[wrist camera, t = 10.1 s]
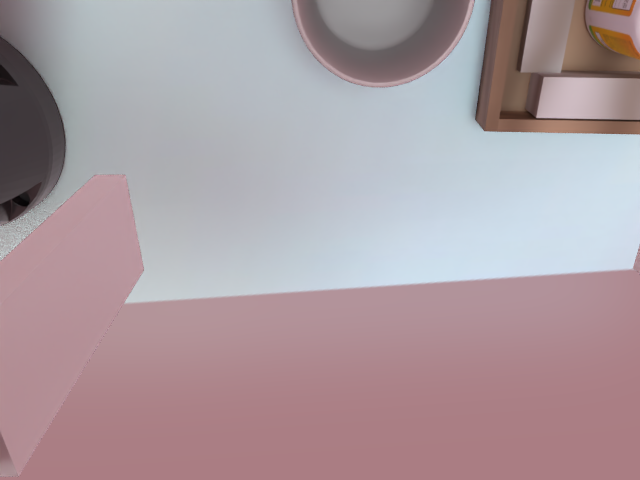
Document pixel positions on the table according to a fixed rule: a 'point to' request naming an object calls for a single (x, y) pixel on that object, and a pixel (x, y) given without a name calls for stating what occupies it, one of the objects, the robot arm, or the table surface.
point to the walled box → (553, 73)
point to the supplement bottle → (615, 25)
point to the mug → (381, 36)
